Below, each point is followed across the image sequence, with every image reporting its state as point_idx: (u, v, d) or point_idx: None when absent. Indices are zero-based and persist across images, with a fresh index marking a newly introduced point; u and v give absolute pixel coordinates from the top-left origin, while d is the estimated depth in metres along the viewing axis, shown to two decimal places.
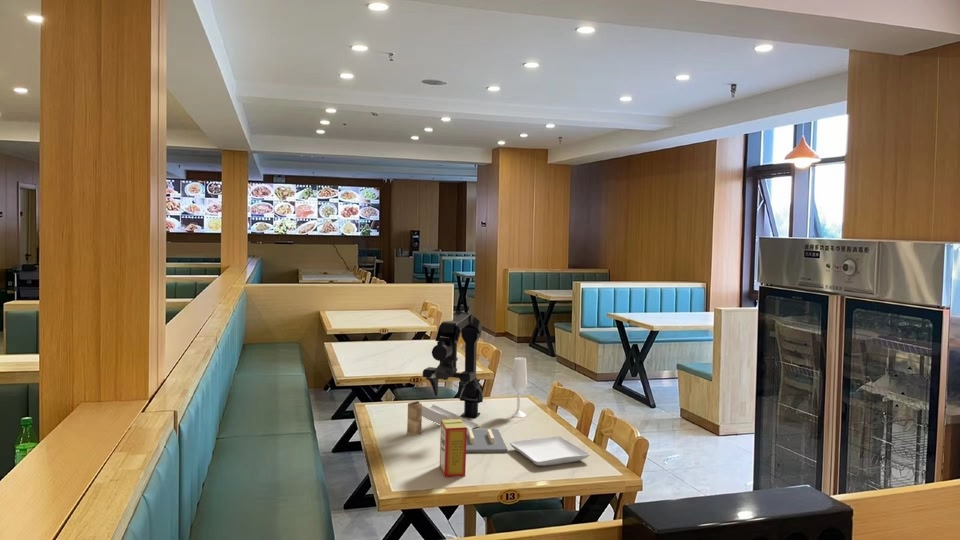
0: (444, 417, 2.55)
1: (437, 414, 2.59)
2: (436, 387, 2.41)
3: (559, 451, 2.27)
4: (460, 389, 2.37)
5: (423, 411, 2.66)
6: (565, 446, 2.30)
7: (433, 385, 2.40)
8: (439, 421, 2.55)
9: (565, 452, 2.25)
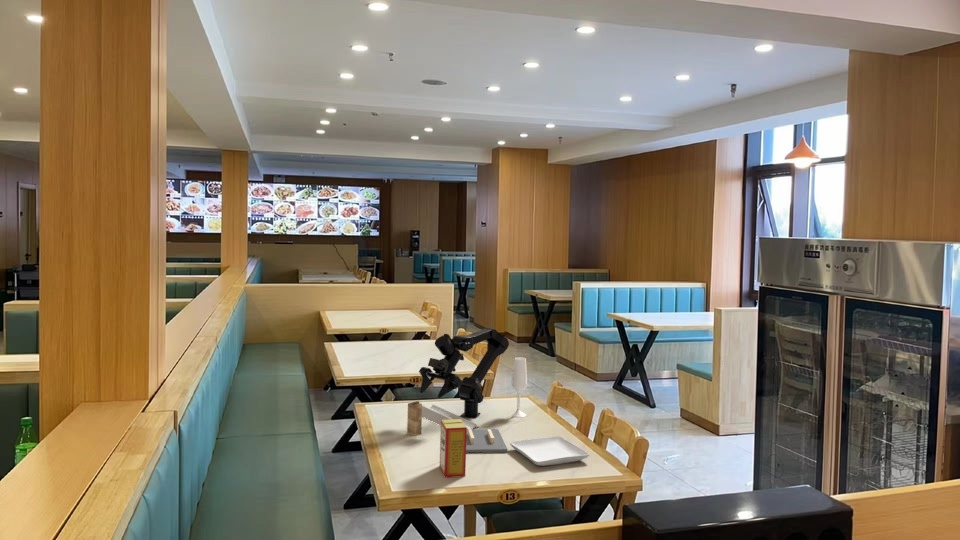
0: (444, 417, 2.55)
1: (437, 414, 2.59)
2: (424, 386, 2.52)
3: (559, 451, 2.27)
4: (443, 387, 2.45)
5: (423, 411, 2.66)
6: (565, 446, 2.30)
7: (423, 381, 2.52)
8: (438, 421, 2.55)
9: (565, 452, 2.25)
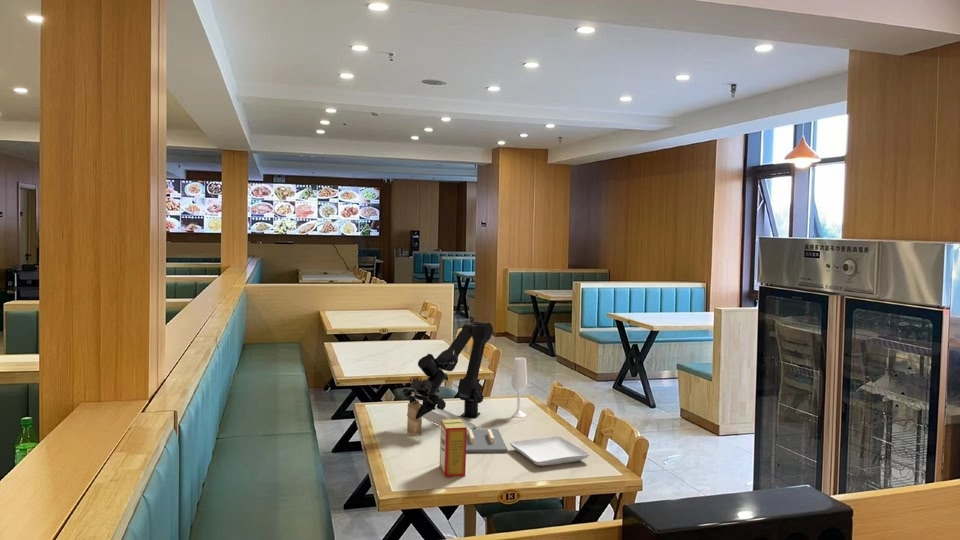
0: (442, 417, 2.55)
1: (436, 414, 2.59)
2: None
3: (559, 451, 2.27)
4: (421, 408, 2.40)
5: None
6: (565, 446, 2.30)
7: None
8: (437, 421, 2.55)
9: (565, 452, 2.25)
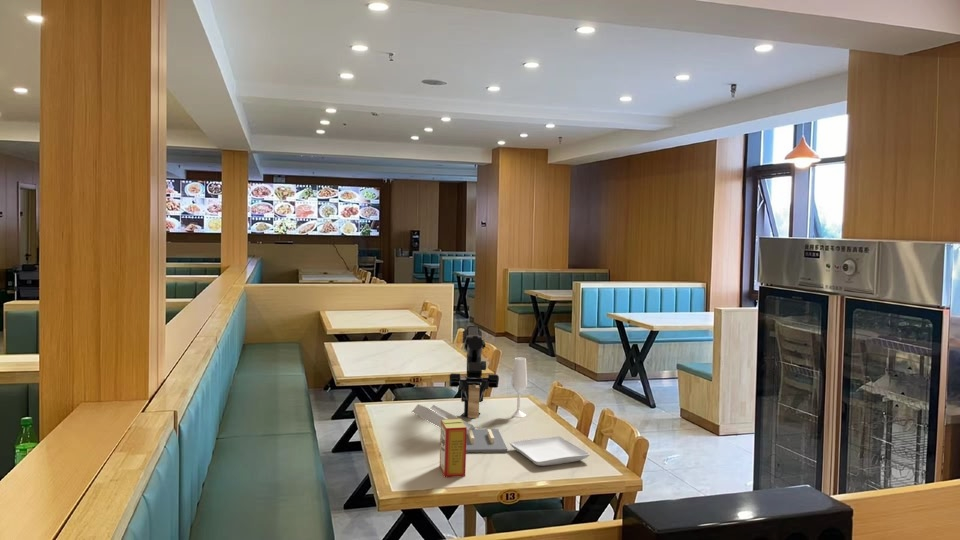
0: (440, 417, 2.55)
1: (434, 414, 2.59)
2: (468, 392, 2.43)
3: (559, 451, 2.27)
4: (481, 389, 2.43)
5: (421, 411, 2.66)
6: (565, 446, 2.30)
7: (466, 388, 2.43)
8: (435, 421, 2.55)
9: (565, 452, 2.25)
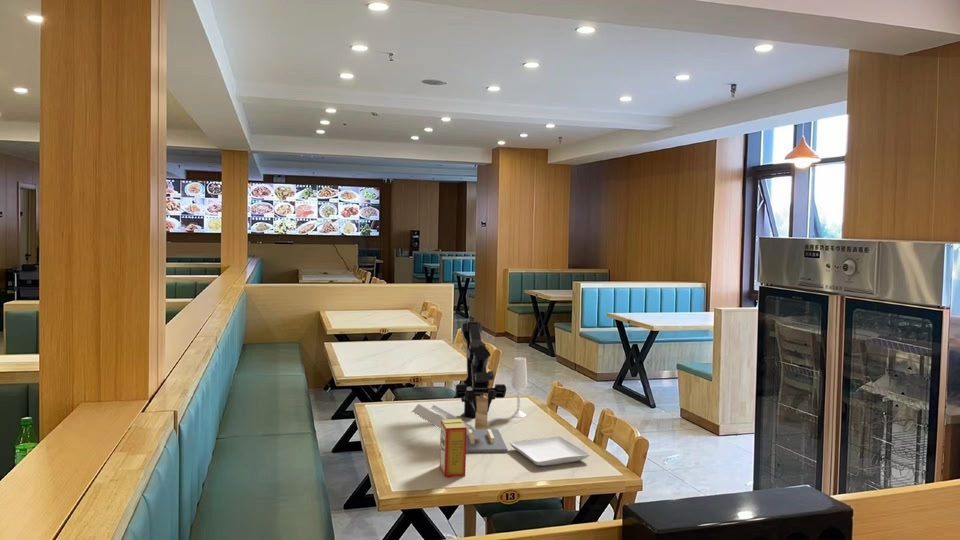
0: (439, 418, 2.55)
1: (434, 414, 2.59)
2: None
3: (559, 451, 2.27)
4: (489, 400, 2.36)
5: (421, 411, 2.66)
6: (565, 446, 2.30)
7: (473, 399, 2.36)
8: (434, 421, 2.55)
9: (565, 452, 2.25)
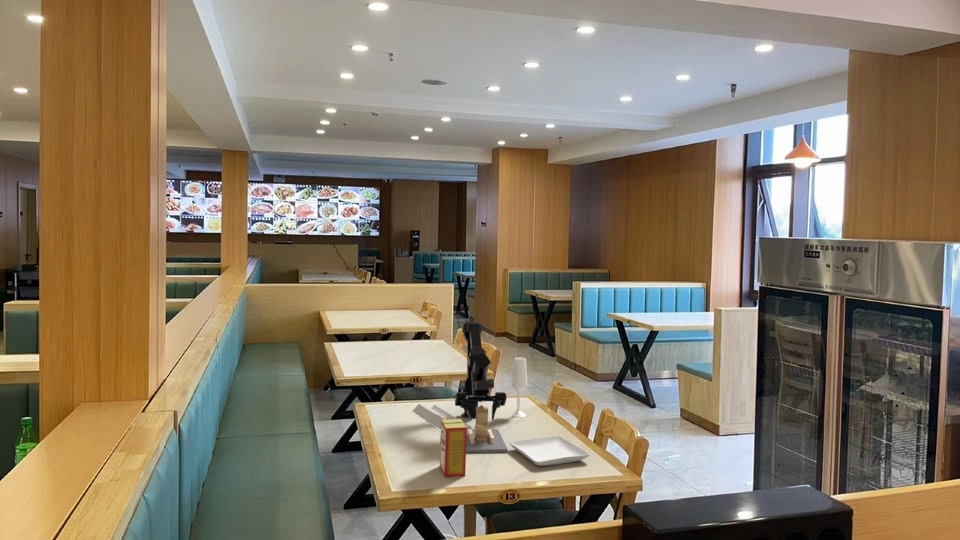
0: (438, 418, 2.54)
1: (433, 414, 2.59)
2: None
3: (559, 451, 2.27)
4: (494, 408, 2.36)
5: (421, 411, 2.66)
6: (565, 446, 2.30)
7: (468, 407, 2.35)
8: (433, 421, 2.54)
9: (565, 452, 2.25)
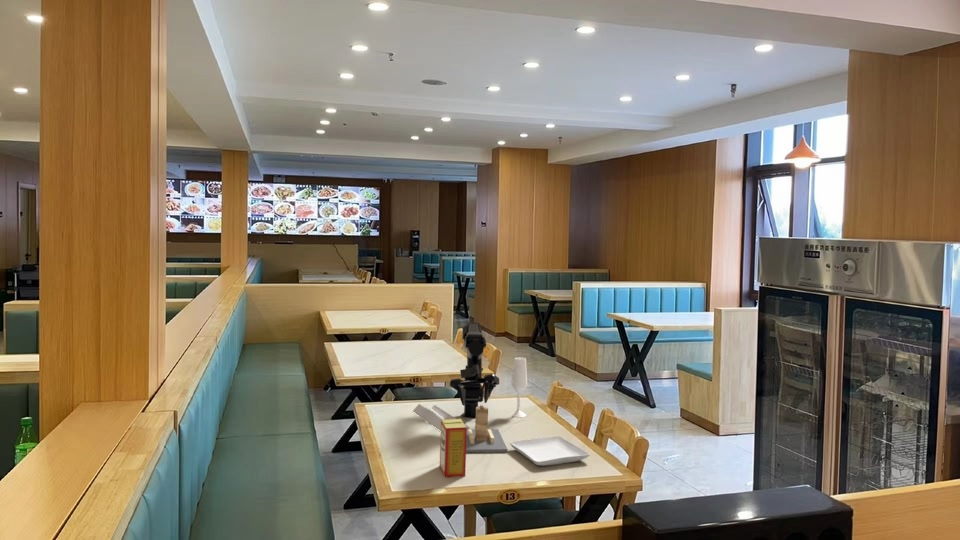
0: (437, 418, 2.54)
1: (432, 414, 2.59)
2: (463, 397, 2.48)
3: (559, 451, 2.27)
4: (485, 391, 2.43)
5: (421, 411, 2.66)
6: (565, 446, 2.30)
7: (460, 393, 2.47)
8: (432, 421, 2.54)
9: (565, 452, 2.25)
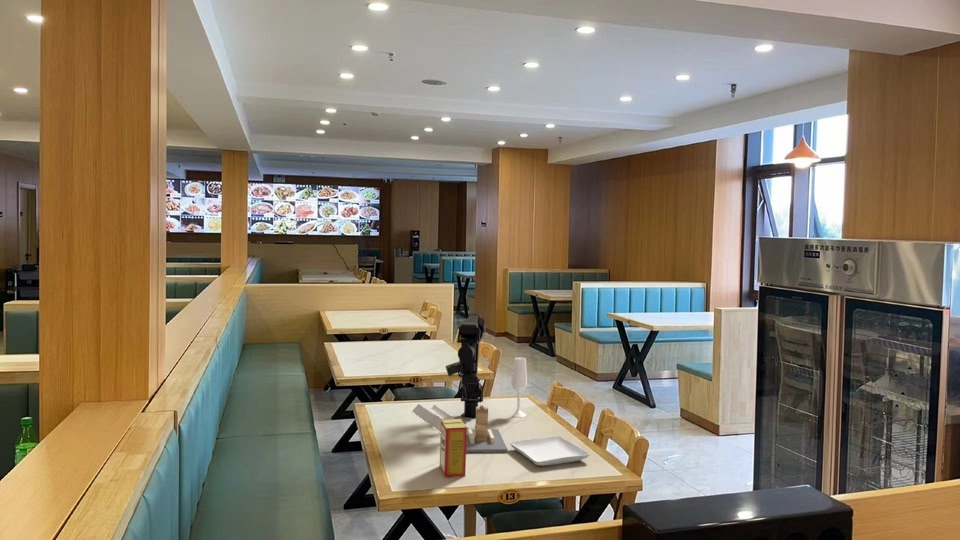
0: (436, 418, 2.54)
1: (431, 415, 2.58)
2: None
3: (559, 451, 2.27)
4: (465, 390, 2.43)
5: (420, 411, 2.66)
6: (565, 446, 2.30)
7: None
8: (431, 422, 2.54)
9: (565, 452, 2.25)
